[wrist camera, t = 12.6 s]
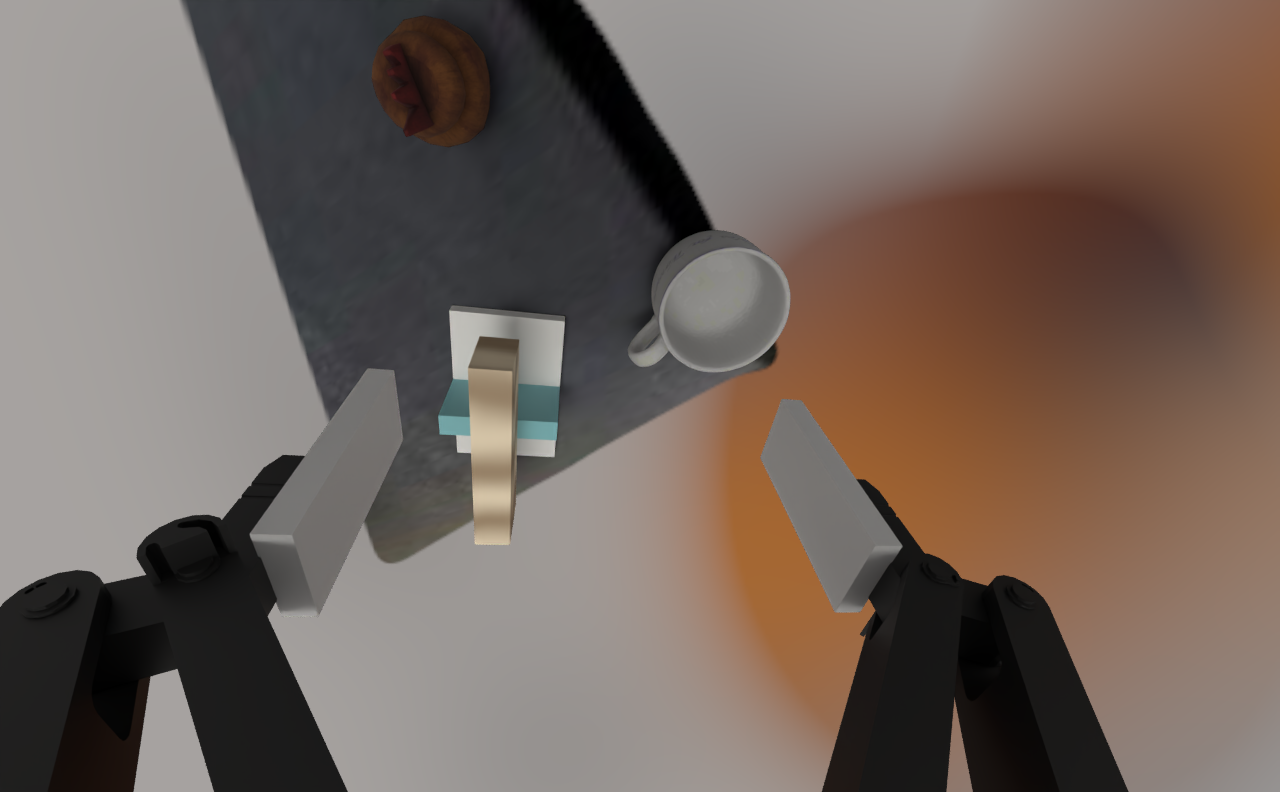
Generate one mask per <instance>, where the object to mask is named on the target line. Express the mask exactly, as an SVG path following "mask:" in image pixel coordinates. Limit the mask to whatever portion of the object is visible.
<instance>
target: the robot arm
mask: <svg viewBox="0 0 1280 792" xmlns="http://www.w3.org/2000/svg"><path fill="white" fill-rule="evenodd" d="M402 440H403V436H402V428H401V420H400V413H399V405H398V398H397V390H396V382H395V375H394V370H381V369H367V370H366V372H365V373H364V374H363V376H362V377H361V379H360V380H359V381H358V383H357V384H356V386H355V387H354V388H353V390H352V391H351V393H350V394H349V395H348V397H347V398H346V400H345V401H344V402H343V404H342V405H341V407H340V408H339V409H338V411H337V412H336V414H335V415H334V416H333V418H332V419H331V421H330V422H329V423H328V425H327V426H326V428H325V429H324V431H323V432H322V433H321V435H320V436H319V438H318V439H317V440H316V442H315V443H314V445H313V446H312V447H311V449H310V450H309V451H308V453H307V454H306V456H295V455H282V456H281V457H280V458H278V459H276V460H275V461H274V462H272V463H270V464H269V465H267V466H266V467H264V468H263V469H262V471H261V472H260V473H259V474H258V476H257V477H256V478H255V480H254V481H253V482H252V485H251V486H249V487H248V488H247V489H246V491H245V492H244V493H243V494H242V498H241V499H238V501H237V502H236V503H235V504H234V506H233V507H232V508H231V509H230V511H229V512H228V513H227V514H226V516H225V517H224V518H223V520H221V519H220V518H219V517H215V516H211V515H194V516H189V517H185V518H182V519H178V520H174V521H172V522H170V523H168V524H166V525H164V526H162V527H159V528H158V529H157V530H155V531H154V532H152V533H151V534H150V535H148V536H147V537H146V538H145V539H144V540H143V542H142V543H141V545H140V546H139V547H138V550H137V560H138V561H139V563H140V565H141V567H142V568H143V570H144V572H145V573H146V575H145V576H139V577H134V578H130V579H126V580H120V581H116V582H111V583H106V584H104V583H103V582H102V580H101V579H100V578H99V577H98V576H96V575H95V574H94V573H92V572H89V571H80V570H75V571H69V572H62V573H57V574H55V575H52V576H49V577H46V578H43V579H40V580H38V581H36V582H34V583H32V584H30V585H28V586H27V587H25V588H23V589H21V590H19V591H18V592H17V593H15V594H14V595H13V596H12V597H10V598H9V599H8V600H6V601H5V602H4V603H3V604H2V606H1V607H0V792H133V791H134V784H135V778H136V771H137V764H138V757H139V749H140V744H141V737H142V730H143V723H144V717H145V710H146V703H147V696H148V689H149V683H150V676H153V675H157V674H160V673H164V672H168V671H171V670H175V669H178V672H179V675H180V678H181V682H182V685H183V688H184V692H185V695H186V699H187V702H188V705H189V709H190V712H191V716H192V719H193V722H194V725H195V729H196V732H197V736H198V739H199V742H200V746H201V749H202V753H203V756H204V759H205V763H206V766H207V769H208V773H209V776H210V779H211V783H212V786H213V790H214V792H348V791H347V789H346V787H345V785H344V783H343V780H342V778H341V776H340V774H339V772H338V769H337V767H336V765H335V763H334V761H333V759H332V756H331V754H330V752H329V750H328V748H327V746H326V743H325V741H324V739H323V737H322V735H321V732H320V730H319V728H318V726H317V724H316V721H315V719H314V717H313V715H312V713H311V711H310V708H309V706H308V704H307V702H306V700H305V697H304V695H303V693H302V691H301V689H300V687H299V684H298V682H297V680H296V678H295V676H294V674H293V671H292V669H291V667H290V665H289V663H288V660H287V658H286V656H285V654H284V652H283V649H282V647H281V645H280V643H279V641H278V639H277V636H276V634H275V632H274V630H273V628H272V626H271V623H270V621H269V619H268V614H269V613H270V611H271V609H272V608H273V606H274V604H275V603H277V606H278V608H279V610H280V613H281V616H282V617H298V616H300V617H302V616H303V617H305V616H309V617H310V616H319V614H320V612H321V610H322V608H323V606H324V604H325V602H326V599H327V598H328V595H329V593H330V591H331V589H332V587H333V585H334V583H335V581H336V579H337V577H338V574H339V572H340V570H341V568H342V566H343V564H344V562H345V560H346V558H347V556H348V553H349V551H350V549H351V547H352V545H353V543H354V541H355V539H356V537H357V535H358V532H359V530H360V528H361V526H362V524H363V522H364V520H365V518H366V516H367V514H368V512H369V510H370V507H371V505H372V503H373V501H374V499H375V497H376V495H377V493H378V491H379V489H380V487H381V484H382V482H383V480H384V478H385V476H386V474H387V472H388V470H389V468H390V466H391V463H392V461H393V459H394V457H395V455H396V453H397V451H398V449H399V447H400V445H401V443H402ZM761 460H762V462H763V464H764V466H765V468H766V470H767V472H768V475H769V476H770V479H771V480H772V483H773V485H774V487H775V489H776V491H777V493H778V495H779V497H780V499H781V501H782V503H783V506H784V508H785V510H786V512H787V514H788V516H789V518H790V520H791V522H792V524H793V526H794V528H795V530H796V533H797V535H798V537H799V539H800V541H801V543H802V545H803V547H804V549H805V551H806V553H807V555H808V557H809V560H810V561H811V564H812V566H813V568H814V570H815V572H816V574H817V576H818V578H819V580H820V582H821V584H822V586H823V588H824V591H825V593H826V595H827V597H828V599H829V601H830V603H831V605H832V607H833V609H834V611H835V612H860V611H861V610H862V608H863V607H864V605H865V603H866V602H867V600H868V599H869V600H870V601H871V603H872V605H873V607H874V608H875V610H876V611H875V612H874V614H873V615H872V617H871V618H870V620H869V621H868V623H867V624H866V626H865V627H864V629H863V630H862V632H861V633H860V635H861V636H864V635H865V634H866V636H865V640H864V644H863V647H862V651H861V654H860V658H859V661H858V665H857V669H856V672H855V676H854V679H853V683H852V686H851V690H850V693H849V697H848V701H847V704H846V708H845V711H844V715H843V719H842V722H841V725H840V729H839V733H838V736H837V740H836V743H835V747H834V751H833V754H832V757H831V761H830V765H829V768H828V772H827V775H826V779H825V782H824V786H823V790H822V792H946V789H947V777H948V766H949V754H950V742H951V730H952V719H953V708H954V697H955V702H956V707H957V712H958V718H959V723H960V728H961V733H962V738H963V743H964V748H965V753H966V758H967V764H968V769H969V774H970V779H971V784H972V789H973V792H1128V790H1127V787H1126V785H1125V783H1124V780H1123V778H1122V776H1121V773H1120V771H1119V768H1118V766H1117V764H1116V761H1115V759H1114V757H1113V755H1112V752H1111V750H1110V747H1109V745H1108V743H1107V740H1106V738H1105V736H1104V733H1103V731H1102V729H1101V726H1100V724H1099V722H1098V719H1097V717H1096V715H1095V712H1094V710H1093V708H1092V705H1091V703H1090V701H1089V698H1088V696H1087V694H1086V692H1085V689H1084V687H1083V684H1082V682H1081V680H1080V677H1079V675H1078V673H1077V671H1076V668H1075V666H1074V664H1073V661H1072V659H1071V656H1070V654H1069V652H1068V649H1067V647H1066V645H1065V642H1064V640H1063V638H1062V635H1061V633H1060V631H1059V628H1058V626H1057V624H1056V621H1055V619H1054V617H1053V614H1052V612H1051V610H1050V608H1049V606H1048V604H1047V603H1046V601H1045V600H1044V598H1043V597H1042V596H1041V595H1040V594H1039V593H1038V592H1037V591H1036V590H1035V589H1033V588H1032V587H1031V586H1029V585H1027V584H1026V583H1024V582H1022V581H1020V580H1018V579H1016V578H1014V577H1009V576H1005V575H1003V576H996V578H994V580H993V581H992V582H991V583H990V584H989V585H988V586H986V585H983V584H979V583H976V582H972V581H969V580H965V579H962V578H961V577H960V576H959V574H958V573H957V571H956V570H954V569H953V568H952V567H951V566H950V565H949V564H948V563H946V562H945V561H943V560H942V559H940V558H938V557H936V556H933V555H930V554H925V553H924V552H923V551H922V549H921V548H920V546H919V545H918V544H917V542H916V541H915V540H914V538H913V537H912V536H911V534H910V533H909V531H908V530H907V529H906V527H905V526H904V525H903V523H902V522H901V520H900V519H899V518H898V517H896V514H895V512H894V511H893V509H892V508H891V507H889V506H888V503H887V501H886V500H885V499H884V497H883V496H882V495H881V493H880V492H879V491H878V490H877V489H876V488H875V487H873V486H872V485H871V484H870V483H869V482H867V481H866V480H862V479H856V478H855V477H854V476H853V474H852V473H851V471H850V470H849V468H848V467H847V466H846V464H845V463H844V461H843V460H842V458H841V457H840V455H839V454H838V453H837V451H836V450H835V448H834V447H833V445H832V444H831V442H830V441H829V439H828V438H827V437H826V435H825V434H824V433H823V431H822V430H821V428H820V426H819V425H818V424H817V422H816V421H815V419H814V418H813V416H812V415H811V414H810V412H809V411H808V410H807V408H806V406H805V405H804V404H803V402H802V401H801V400H788V399H782V400H781V403H780V406H779V409H778V411H777V414H776V416H775V419H774V422H773V425H772V427H771V430H770V433H769V435H768V438H767V441H766V444H765V446H764V449H763V452H762V455H761Z"/></svg>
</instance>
